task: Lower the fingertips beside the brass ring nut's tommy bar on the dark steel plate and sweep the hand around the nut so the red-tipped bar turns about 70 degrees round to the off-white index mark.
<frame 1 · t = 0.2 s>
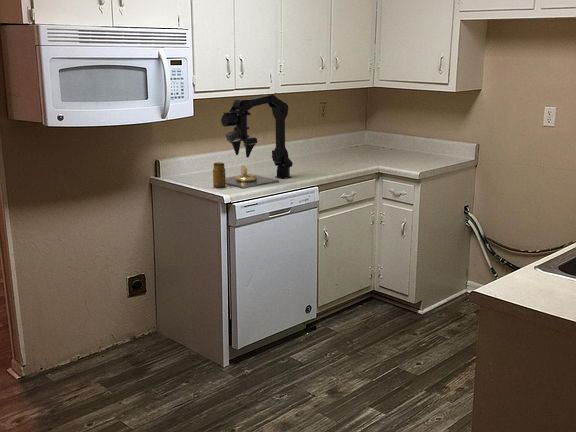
hand: (242, 156, 318), 14 cm above the counter, fingers open, 9 cm apart
ring nut: (244, 173, 329), point 4 cm above the counter, hinge at 0.0°
base plate: (246, 181, 327), on the counter
condiment: (220, 187, 314), on the counter
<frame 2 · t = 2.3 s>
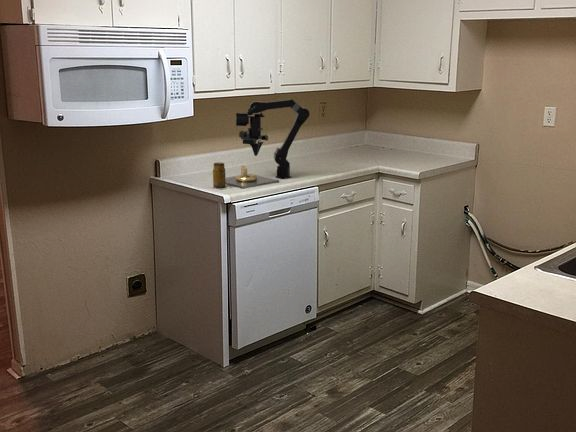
hand: (255, 155, 334), 12 cm above the counter, fingers closed
nothing on the counter moved.
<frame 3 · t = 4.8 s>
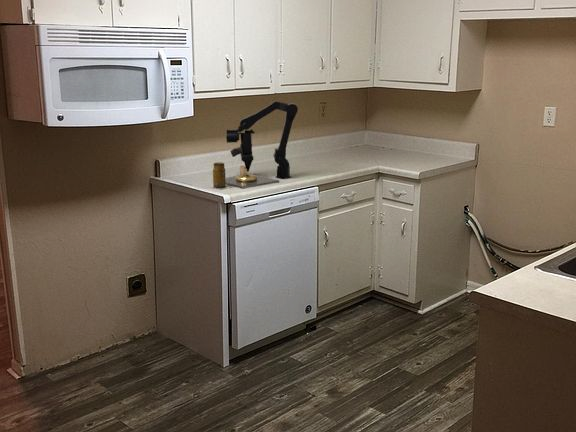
hand: (247, 171, 337), 3 cm above the counter, fingers closed
ring nut: (243, 173, 329), point 4 cm above the counter, hinge at 2.7°, touching gripper
everything else where it was.
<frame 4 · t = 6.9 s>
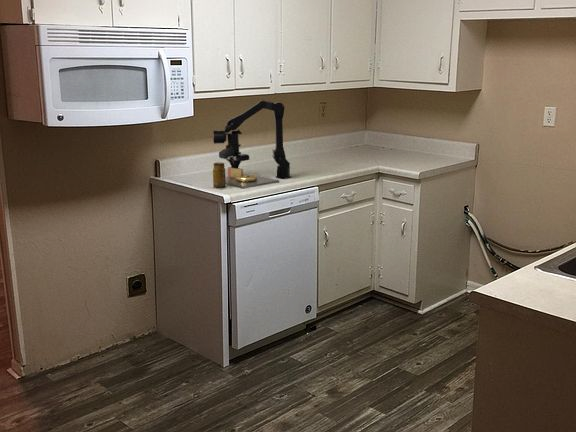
hand: (234, 172, 335), 3 cm above the counter, fingers closed
ring nut: (241, 174, 327), point 4 cm above the counter, hinge at 40.3°, touching gripper
everything else where it was.
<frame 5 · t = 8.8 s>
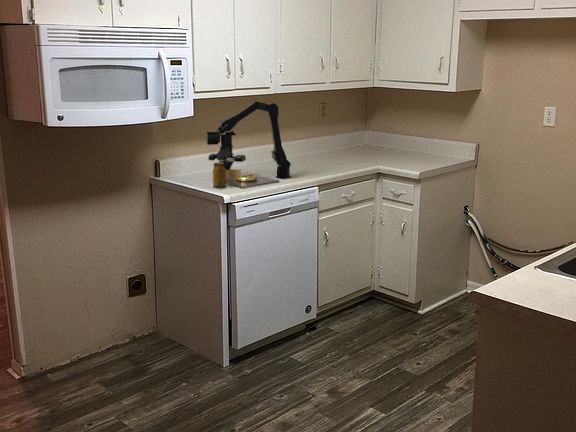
hand: (227, 174, 330), 3 cm above the counter, fingers closed
ring nut: (240, 174, 326), point 4 cm above the counter, hinge at 71.0°
everything else where it was.
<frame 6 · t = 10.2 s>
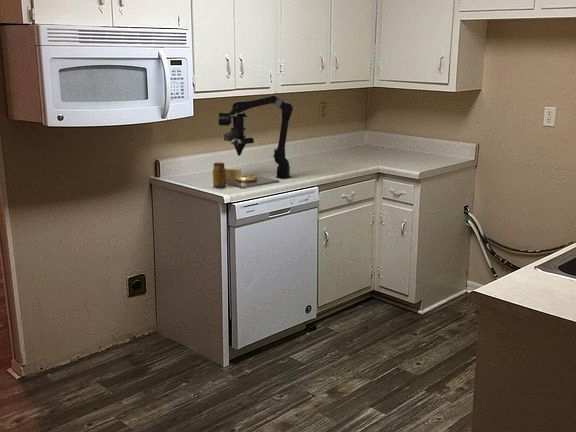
hand: (239, 155, 335), 12 cm above the counter, fingers closed
nothing on the counter moved.
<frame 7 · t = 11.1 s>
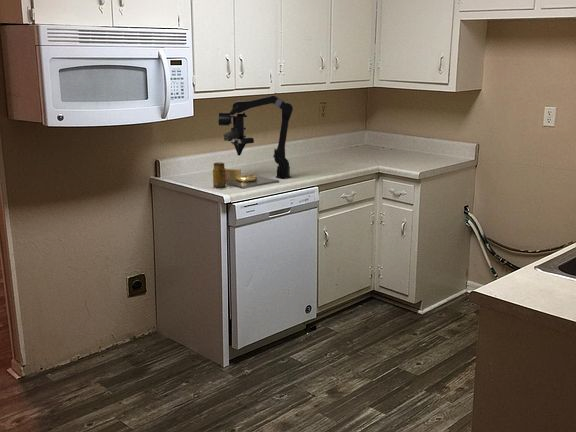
hand: (239, 155, 335), 12 cm above the counter, fingers closed
nothing on the counter moved.
at the end: ring nut at +71° (first picture: +0°) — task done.
